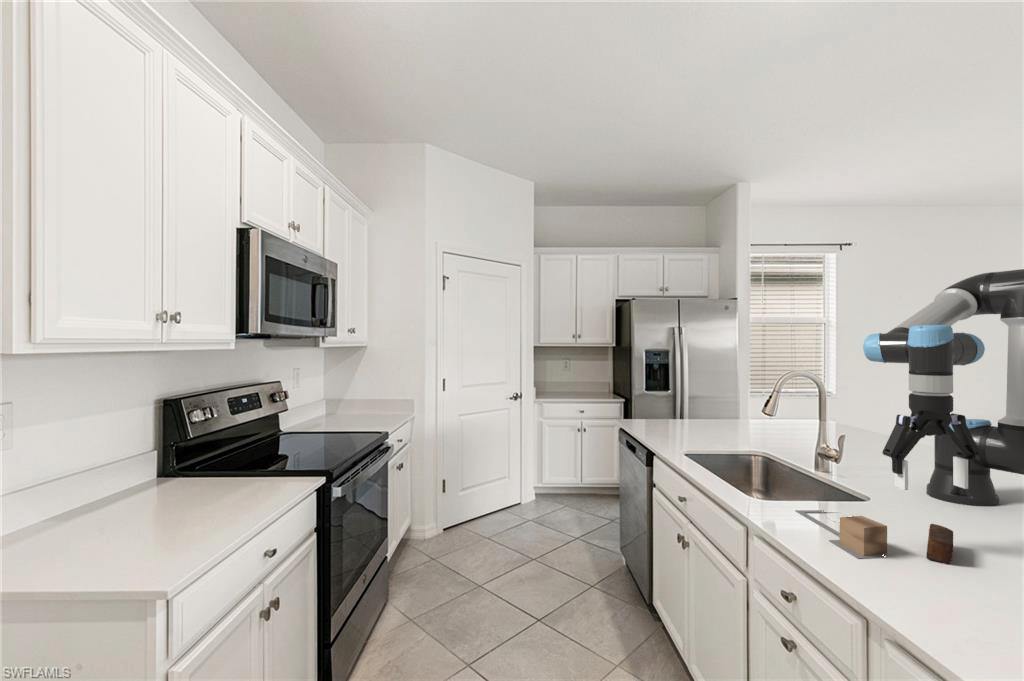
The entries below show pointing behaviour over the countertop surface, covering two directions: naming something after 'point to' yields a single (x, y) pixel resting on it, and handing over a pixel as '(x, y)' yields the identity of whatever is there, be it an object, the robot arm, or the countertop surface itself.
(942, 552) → the brick
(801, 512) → the frame
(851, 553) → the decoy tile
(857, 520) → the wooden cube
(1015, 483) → the countertop surface
